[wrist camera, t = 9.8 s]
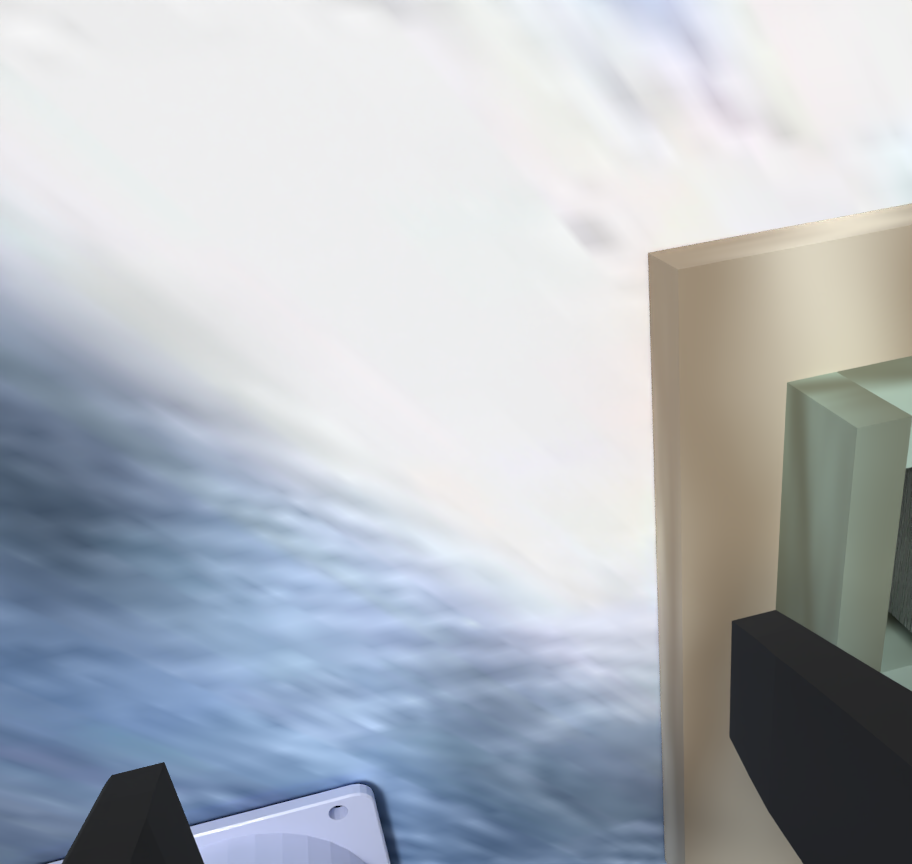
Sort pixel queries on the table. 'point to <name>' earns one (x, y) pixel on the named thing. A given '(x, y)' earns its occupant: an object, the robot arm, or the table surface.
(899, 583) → the key peg
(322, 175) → the table surface
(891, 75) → the table surface
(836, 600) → the block
